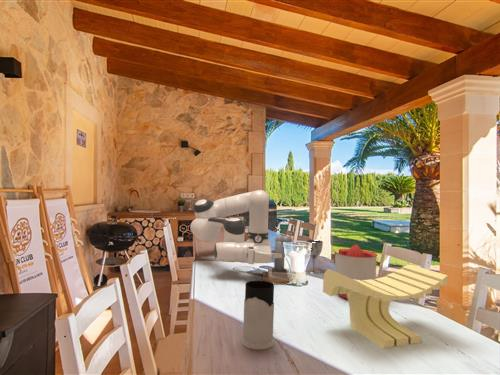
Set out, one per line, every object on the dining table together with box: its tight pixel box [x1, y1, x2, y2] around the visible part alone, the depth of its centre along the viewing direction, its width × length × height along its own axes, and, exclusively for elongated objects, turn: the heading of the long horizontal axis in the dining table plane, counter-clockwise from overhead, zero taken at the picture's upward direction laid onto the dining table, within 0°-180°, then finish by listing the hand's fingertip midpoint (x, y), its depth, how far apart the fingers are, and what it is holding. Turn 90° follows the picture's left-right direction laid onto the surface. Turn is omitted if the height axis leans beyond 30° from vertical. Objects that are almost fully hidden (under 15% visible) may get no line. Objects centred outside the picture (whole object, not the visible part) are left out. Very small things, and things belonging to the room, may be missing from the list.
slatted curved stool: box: [322, 264, 449, 349], centre depth 96 cm, size 30×16×18 cm, turn 109°
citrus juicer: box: [329, 244, 378, 300], centre depth 128 cm, size 16×17×20 cm
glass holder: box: [240, 280, 275, 350], centre depth 90 cm, size 9×14×15 cm, turn 163°
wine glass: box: [305, 239, 324, 274], centre depth 164 cm, size 8×8×15 cm
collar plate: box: [262, 267, 290, 285], centre depth 147 cm, size 14×14×4 cm
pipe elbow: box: [273, 235, 294, 271], centre depth 146 cm, size 8×5×15 cm, turn 88°
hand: (281, 254), depth 146 cm, fingers closed on pipe elbow, 4 cm apart
